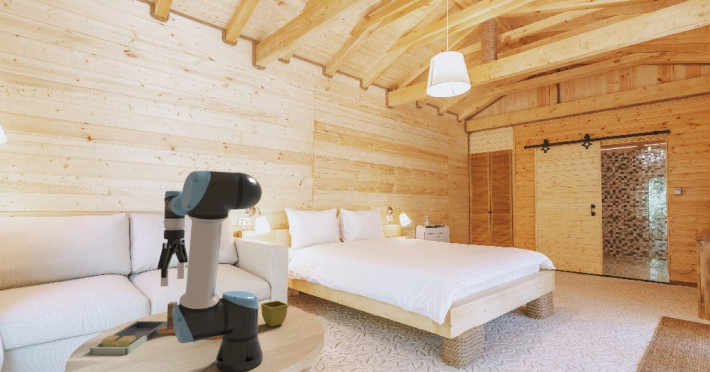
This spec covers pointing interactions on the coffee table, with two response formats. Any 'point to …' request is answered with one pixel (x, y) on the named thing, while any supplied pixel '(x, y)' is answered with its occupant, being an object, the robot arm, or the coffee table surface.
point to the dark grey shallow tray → (142, 329)
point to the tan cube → (110, 341)
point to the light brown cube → (126, 341)
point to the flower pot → (274, 312)
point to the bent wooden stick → (169, 321)
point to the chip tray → (117, 348)
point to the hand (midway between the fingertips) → (173, 282)
